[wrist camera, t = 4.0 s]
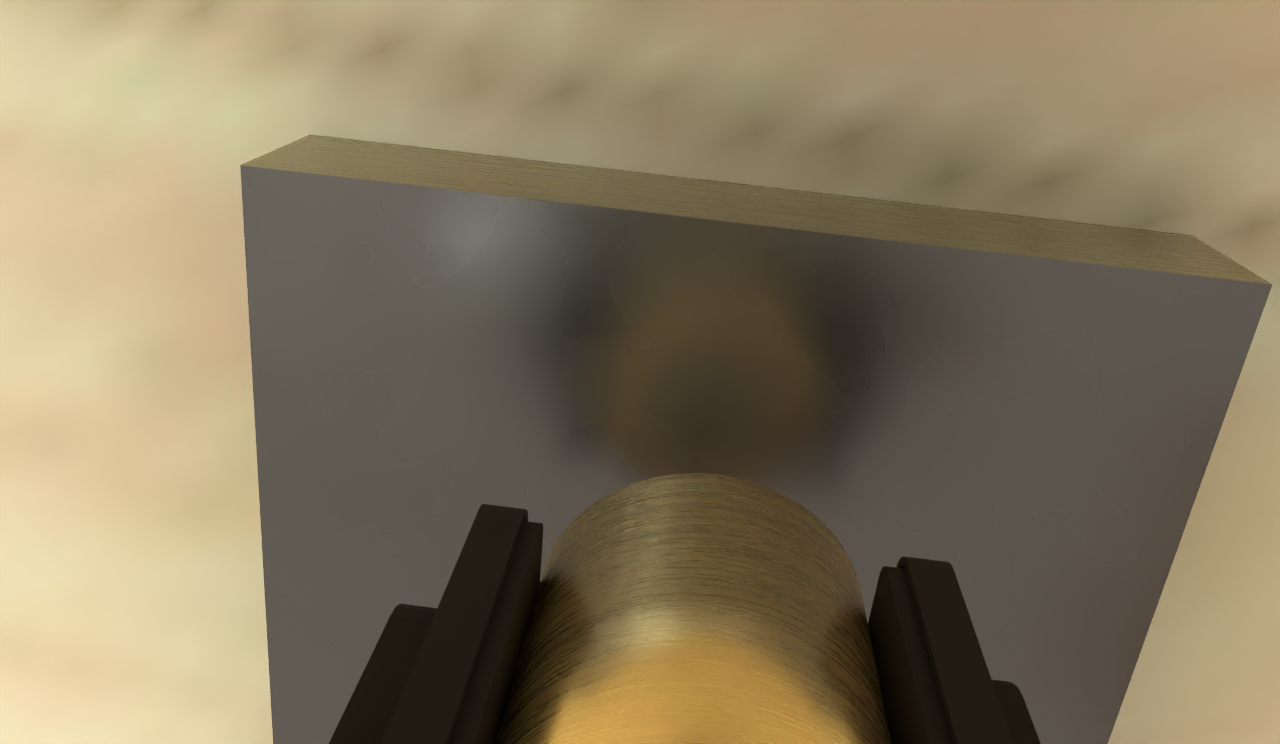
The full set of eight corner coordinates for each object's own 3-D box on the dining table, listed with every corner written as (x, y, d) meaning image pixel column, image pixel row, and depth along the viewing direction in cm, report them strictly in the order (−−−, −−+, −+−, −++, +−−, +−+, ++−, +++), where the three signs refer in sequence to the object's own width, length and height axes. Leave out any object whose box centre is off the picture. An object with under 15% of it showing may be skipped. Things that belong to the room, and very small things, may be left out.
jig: (309, 134, 16) (240, 164, 14) (1192, 235, 16) (1272, 284, 13) (334, 983, 24) (293, 1092, 22) (925, 1068, 24) (947, 1190, 21)
